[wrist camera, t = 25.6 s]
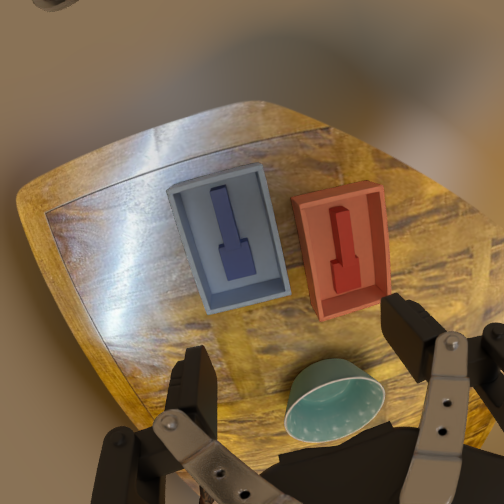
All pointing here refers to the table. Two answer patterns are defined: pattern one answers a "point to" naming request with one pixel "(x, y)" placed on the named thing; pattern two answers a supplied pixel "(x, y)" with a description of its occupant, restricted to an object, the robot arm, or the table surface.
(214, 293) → the blue bin
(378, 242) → the red bin
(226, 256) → the blue bar
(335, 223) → the red stepped block
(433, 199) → the table surface
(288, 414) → the bowl
